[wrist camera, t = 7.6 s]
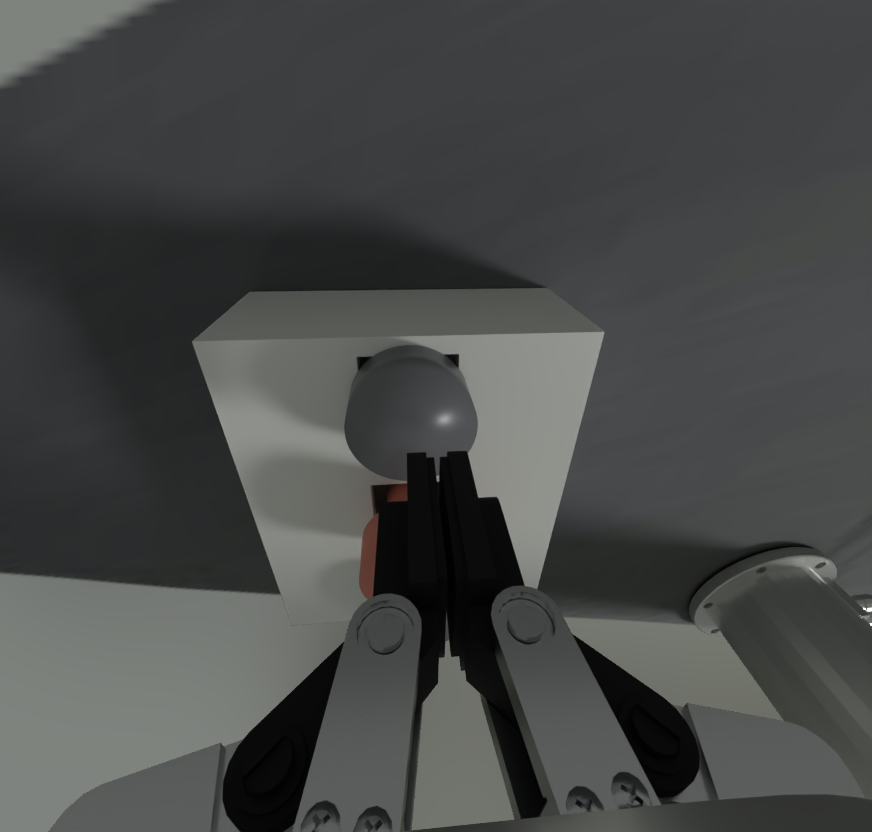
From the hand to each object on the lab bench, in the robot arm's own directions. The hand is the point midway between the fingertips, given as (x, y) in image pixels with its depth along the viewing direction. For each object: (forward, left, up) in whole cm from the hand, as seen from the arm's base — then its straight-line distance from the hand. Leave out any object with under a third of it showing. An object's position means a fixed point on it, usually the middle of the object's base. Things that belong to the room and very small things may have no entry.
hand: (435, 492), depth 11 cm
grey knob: (+1, 0, -8) cm, 8 cm away
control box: (+1, +6, -11) cm, 12 cm away
